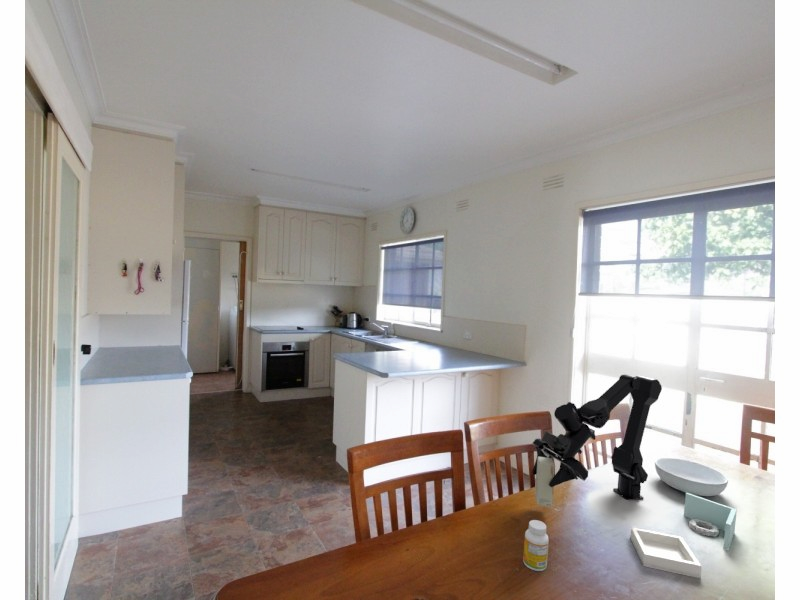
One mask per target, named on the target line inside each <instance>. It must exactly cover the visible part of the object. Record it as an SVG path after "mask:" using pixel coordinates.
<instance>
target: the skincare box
mask: <svg viewBox="0 0 800 600" xmlns="http://www.w3.org/2000/svg"><path fill="white" fill-rule="evenodd" d="M536 459H537V474H536V476H535V491H534V492H535V493H534V496H535V500H536V501H535V502H536V504H537V506H542V507H549V508H553V504H554V488H555V486H553V487H550V486H549V483H550V481H551V480H552V478H553V477H554V476H555V474H556V472H555V471H556V465H555V462H554V460H553V457H552V458H546V457H539V456H538V458H537V457H536Z"/></svg>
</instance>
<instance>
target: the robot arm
mask: <svg viewBox="0 0 800 600" xmlns="http://www.w3.org/2000/svg"><path fill="white" fill-rule="evenodd" d="M662 389H663V387H662V384H661V383H660V381H659V379H656V378H652V377H647V376H643V375H639V374H638V375H636V376H634V375H630V374H625V373H624V374H621V375H620V376H619V378H618V380H616V382H614V383H613V385H611V386H610V387H609V388H608V389H607V390H606V391H605V392H603V394H601V395H600V396H599V397H597V398H596V399H593V400H588V401H587V402H585V403H584V404H582V405H580V407H578V408H577V405H576V404H575V403H573V402H571V401H568V402H567V403H566V404H562V405H560V406H558V407H556V409H554V418H555V419H556V420H557V421H558V423H559V424H560V425H561V427H562V428H563V429H564V430H565V431H566V432H565V434H562V433H560V434H559V435H558V436H557V435H555V434H554V433H553V434H552V432H548V431H547V430H545V431H544V433H543V436H542V437H541V438H535V439H534V441H533V442H532V445H533V446H534V448H535V451H536V459H535V463H534V465H533V467H532V471H531V474H532V475H533V476H535V475H536V474H537V458H538V456H539V457H546V458H552V459H553V458H554V459H555V460H557V461H558V462H560V463H559V469H558V471H557V472H555V476H554V477H553V478H552V480H551V481H550V483H549V486H550V487H553V486H554V487H556V486H558V485H560V484H561V485H562V484H563V483H566V482H569V481H573V480H578V479H580V480H582V481H584V482H585V481H586V480H587V478H588V477H589V470H588V469H587V468H586V467H585V466H584V464H583V463H582V462H581V461H580V460H578V459H576V458H575V457H576V455H577V454H579V455H582V453H583V451H582V448H583V447H584V446H585V444H586V443H587V442H588V440H589V439H591V440H593V441H594V440H596V431H595V430H594V429H592V428H590V427H593V428H596V429H601V428H603V427H604V426H605V425H606V424H607V422H609V420H610V417H611V412H612V410H614V408H616V407H617V406H618V405H619V404H620V403H621V402H622V401H623V400H624V399H626V397H628V396H629V395H631V399H632V404H631V409H630V412H629V413H630V414H629V417H628V420H627V421H628V422H627V425H626V428H625V432H624V437H623V439H622V440H623V441H622V443H621V444H620V445H618V447H617V446H615V447H614V448H613V452H612V455H611V457H610V458H611V464H612V465H611V466H612V469H613V472H614V473H616V474H618V480H617V487H615V488H613V491H614V492H615V493H617V494H618V495H619V496H621V497H622V498H623V499H625V500H627V501H628V500H629V501H630V500H644V496H642V495H641V489H642V488H641V487H642V486H641V484H644V483H645V482H647V480H648V476H649V474H648V473H647V472H646V470H645V468H644V467H643V462H644V459H643V456H642V452H641V445H642V439H643V436H644V434H645V433H644V432H645V428H646V425H647V420H648V417H649V412H650V409H651V406H652V405H653V404H654V403H656V402H657V401H658V400H659V397H660V395H661V392H662Z"/></svg>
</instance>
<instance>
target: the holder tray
mask: <svg viewBox="0 0 800 600" xmlns="http://www.w3.org/2000/svg"><path fill="white" fill-rule="evenodd" d="M629 535H630V536H629V537H630V538H629V539H630V540H631V542H632V544H633V546H634V549H635V551H636V554H637V555H638V557H639V559H640V562H641V563H642V566H643V567H647V568H652V569H656V570H659V571H660V570H661V571H665V572H669V573H674V574H679V575H683V576H688V577H692V578H697V579H701V578H702V577H701V576H702V567H703V566H702V564H701V563H700V561H699V560H698V558H697V557H696V556H695V554H694V553H693V551H692V549H690V547H689V545H688V543H687V542H686V541H685V540H684V538H683V537H682V536H678V535H675V534H671V533H670V534H668V533H663V532H659V531H653V530H650V529H649V530H647V529H644V528H643V529H642V528H638V527H630V534H629Z"/></svg>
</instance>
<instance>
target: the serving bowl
mask: <svg viewBox="0 0 800 600" xmlns="http://www.w3.org/2000/svg"><path fill="white" fill-rule="evenodd" d="M654 466H655V471H656V473H657V475H658V477H659V478H660V479H661V481H663V482H664V483H665V484H667V485H668V486H669V487H672V488H673V489H675V490H678V491H681V492H683V493H685V494H686V493H689V494H692V495H695V496H698V497H714V496H718V495H720V494H721V493H723V492H724V491H725V490H726V488H727V487H728V483H729V478H728V477H727V476H726V475H725V474H723V473H722V472H721V471H719V470H717V469H715V468H713V467H710V466H709V465H708V466H707V465H705V464H703V463H699V462H695V461H693V460H692V461H691V460H688V459H687V460H686V459H681V458H676V457H675V458H674V457H660V458H657V459H656V460H654Z"/></svg>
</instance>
